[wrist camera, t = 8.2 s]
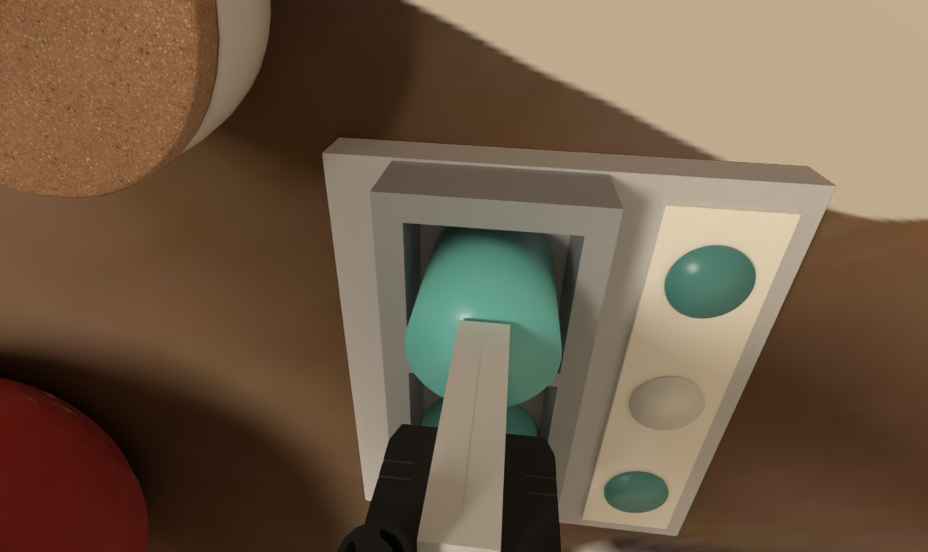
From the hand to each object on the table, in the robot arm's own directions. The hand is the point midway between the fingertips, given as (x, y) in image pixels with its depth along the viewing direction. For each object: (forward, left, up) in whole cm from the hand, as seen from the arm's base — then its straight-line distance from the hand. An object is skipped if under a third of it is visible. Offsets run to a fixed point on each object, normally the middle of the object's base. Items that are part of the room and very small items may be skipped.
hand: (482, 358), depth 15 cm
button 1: (0, 0, -5) cm, 5 cm away
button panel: (+6, +2, -8) cm, 10 cm away
